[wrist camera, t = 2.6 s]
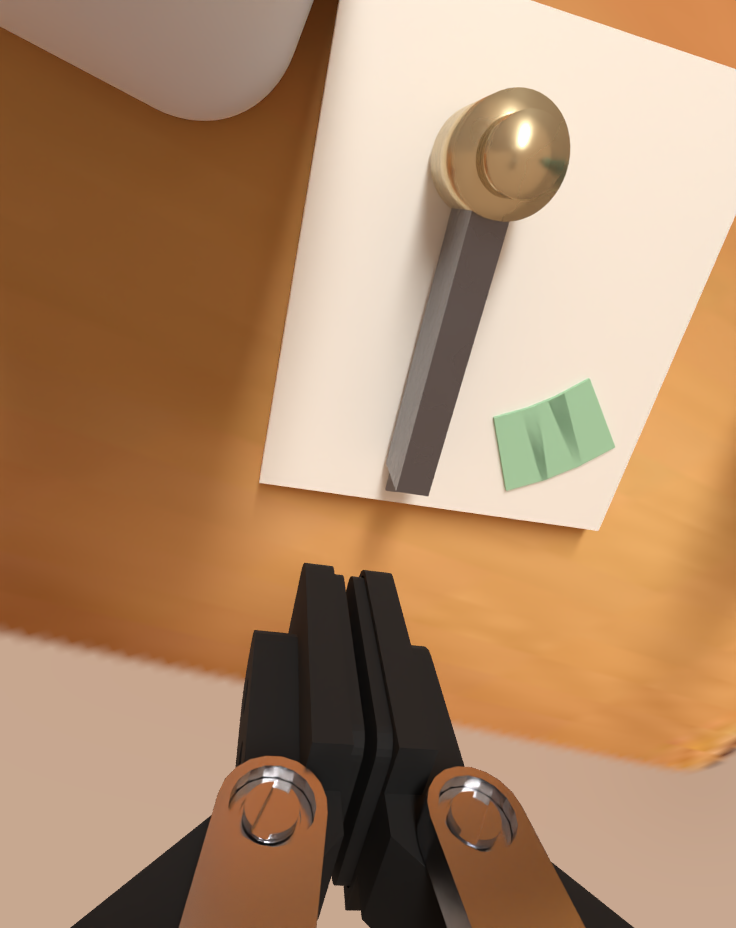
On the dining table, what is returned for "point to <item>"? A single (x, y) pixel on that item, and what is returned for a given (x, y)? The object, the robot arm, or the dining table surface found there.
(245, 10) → the plastic bottle
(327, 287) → the dial plate
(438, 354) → the lever
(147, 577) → the dining table surface
